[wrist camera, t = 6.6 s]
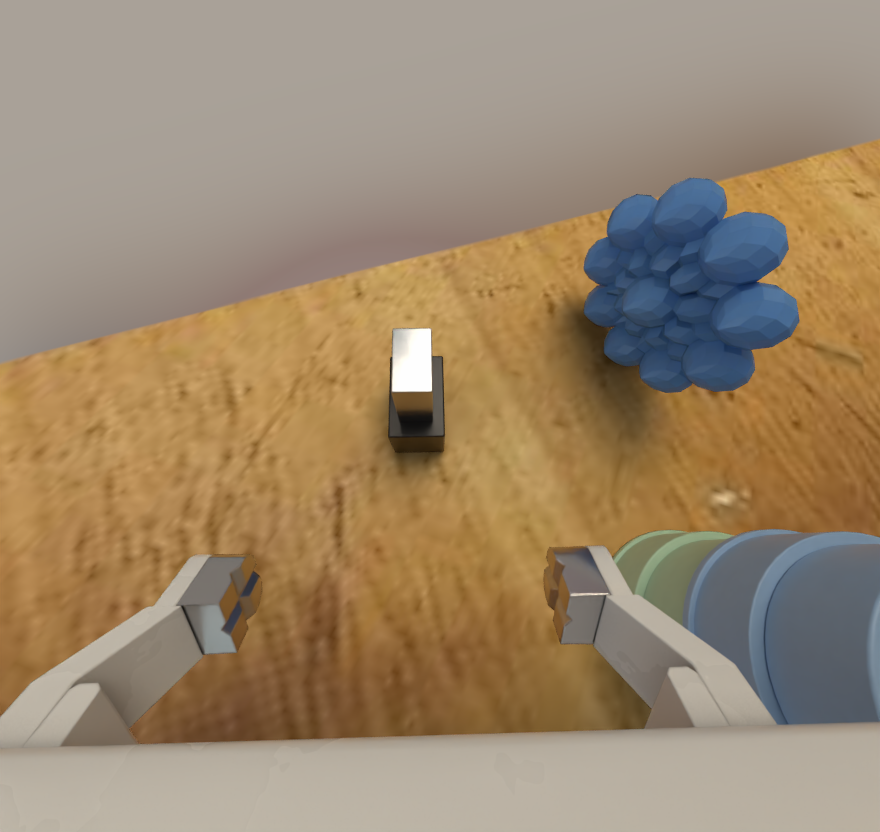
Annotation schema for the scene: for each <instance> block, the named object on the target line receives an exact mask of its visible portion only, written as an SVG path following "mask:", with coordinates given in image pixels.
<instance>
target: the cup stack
mask: <svg viewBox="0 0 880 832" xmlns="http://www.w3.org/2000/svg"><path fill="white" fill-rule="evenodd" d="M613 560H614V562H615V564H616V565H617V567H618V569H619V571H620V572H621V574H622V576H623V578H624V580H625V581H626V583H627V585H628V587H629V588H630V590H631V592H632V594H633V595H640V596H641V597H643V598H644V599H645V600H647V601H648V602H650V603H651V604H652V605H654V606H655V607H657V608H658V609H659V610H661V611H662V612H663V613H665V614H666V615H668V616H669V617H670V618H672V619H673V620H675V621H676V622H677V623H679V624H680V625H682V626H683V627H684V628H686V629H687V630H688V631H690V632H691V633H693V634H694V635H695V636H697V637H698V638H700V639H701V640H702V641H704V642H705V643H706V644H708V645H709V646H711V647H712V648H713V649H715V650H716V651H718V652H719V653H720V654H722V655H723V656H725V657H726V658H727V659H729V660H730V661H731V662H733V663H734V664H735V665H736V666H737V668H738V669H739V671H740V672H741V673H742V675H743V676H744V678H745V679H746V680H747V682H748V683H749V685H750V686H751V688H752V689H753V690H754V692H755V693H756V695H757V696H758V698H759V699H760V700H761V702H762V703H763V705H764V706H765V708H766V709H767V710H768V712H769V713H770V715H771V716H772V717H773V719H774V720H775V722H776V723H777V725H786V724H818V723H851V722H880V537H876V536H872V535H867V534H862V533H856V532H843V531H841V532H819V533H800V532H795V531H790V530H779V529H768V530H754V531H749V532H744V533H741V534H738V535H735V536H733V535H730V534H726V533H721V532H712V531H701V532H684V531H678V530H661V531H654V532H649V533H646V534H643V535H640V536H638V537H636V538H634V539H632V540H630V541H629V542H628V543H626V544H625V545H624V546H623V547H621V549H620V550H619V551H618V552H617V553H616V554H615V555H614V557H613Z"/></svg>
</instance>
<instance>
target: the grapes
mask: <svg viewBox="0 0 880 832" xmlns="http://www.w3.org/2000/svg"><path fill="white" fill-rule="evenodd" d="M726 211H727V199H726V196H725V192H724V189H723V188H722V187H720V186H719V185H718V184H716V183H715V182H714V181H712V180H709V179H700V178H688V179H686V180H684V181H681V182H679V183H677V184H674V185H672V186H671V187H670V188H669V189H668V190H667V191H666V192H665V193H664V194H663V195H662V196H661V197H660V198H659V200H656V199H655V198H653V197H652V196H650V195H639V194H636V195H634V196H631V197H629V198H627V199H624V200H623V201H622V202H621V203H620V204H619V205H618V206H617V207H616V208H615V209H614V210H613V212H612V214H611V216H610V218H609V221H608V224H607V235H608V237H606V238H603V239H601V240H598V241H597V242H596V243H595V244H594V245H593V246H592V247H591V248H590V249H589V251H588V253H587V255H586V258H585V261H584V271H585V273H586V274H587V276H588V277H589V278H590V279H591V280H593V281H594V282H595V283H597V284H600V285H599V286H596V287H595V288H594V289H593V290H592V291H591V292H590V293H589V295H588V297H587V299H586V301H585V306H584V314H585V316H586V317H587V318H588V319H589V320H590V321H591V322H593V323H594V324H596V325H598V326H602V327H606V328H609V327H614V326H615V327H614V328H612V329H611V330H610V331H609V332H608V334H607V336H606V338H605V340H604V354H605V355H606V356H607V357H608V358H609V359H611V360H612V361H614V362H615V363H617V364H620V365H623V366H627V367H628V366H636V365H639V374H640V378H641V379H642V380H643V382H644V383H646V384H647V385H649V386H650V387H651V388H653V389H655V390H659V391H662V392H665V393H671V392H681V391H682V390H684V389H686V388H687V387H689V386H691V385H692V383H693V384H695V385H696V386H697V387H701V388H704V389H707V390H711V391H715V392H717V391H733V390H735V389H737V388H739V387H740V386H742V385H744V384H746V383H748V381H749V379H750V378H751V376H752V374H753V373H754V371H755V363H754V356H753V353H752V351H751V350H753V349H761V348H769V347H773V346H775V345H776V344H778V343H780V342H782V341H783V340H785V339H787V338H788V337H790V336H791V335H792V333H793V331H794V330H795V328H796V326H797V324H798V323H799V315H798V308H797V302H796V299H795V298H793V297H792V296H791V295H789V294H788V293H786V292H785V291H784V290H782V289H781V288H779V287H778V286H776V285H771V284H765V283H759V282H757V281H758V280H760V279H761V278H762V277H764V276H765V275H767V274H768V273H769V272H771V271H772V270H774V269H775V268H777V267H778V266H779V265H780V264H781V262H782V260H783V258H784V257H785V255H786V253H787V251H788V249H789V248H788V241H787V234H786V228H785V226H784V225H783V224H782V223H780V222H779V221H778V220H776V219H775V218H774V217H772V216H770V215H767V214H762V213H751V212H742V213H739V214H737V215H734V216H731V217H728V218H725V219H723V217H724V215H725V213H726ZM722 219H723V220H722Z"/></svg>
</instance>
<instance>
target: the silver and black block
mask: <svg viewBox="0 0 880 832" xmlns="http://www.w3.org/2000/svg"><path fill="white" fill-rule="evenodd" d="M388 437H389V439H390V442H391V444H392V446H393V449H394V451H395V452H396V453H400V452H443V451H444V439H445V424H444V383H443V357H442V356H432V329H431V328H405V329H393V331H392V357H391V358H390V390H389V428H388Z"/></svg>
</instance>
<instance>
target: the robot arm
mask: <svg viewBox="0 0 880 832" xmlns="http://www.w3.org/2000/svg"><path fill="white" fill-rule="evenodd" d="M546 558H547V561H548V564H549V566H548V567H547V568H546V569H545V570H544V578H543V580H544V591H545V596H546V600H547V603H548V606H549V607H551V608H552V609H553V610H554V617H553V622H554V625H555V628H556V632H557V635H558V638H559V641H560V644H594V645H593V646H594V647H595V649H596V650H597V651H598V652H599V653H600V654H601V655H602V656H603V657H604V658H605V659H606V660H607V661H608V663H609V664H610V665H611V666H612V667H613V668H614V669H615V670H616V671H617V672H618V673H619V674H620V675H621V677H622V678H623V679H624V680H625V681H626V682H627V683H628V684H629V685H630V686H631V687H632V688H633V689H634V691H635V692H636V693H637V694H638V695H639V696H640V697H641V698H642V699H643V700H644V701H645V702H646V703H647V705H648V706H649V707H650V708H651V709H652V710H651V713H650V715H649V718H648V720H647V723H646V725H645V727H644V729H622V730H589V731H556V732H523V733H490V734H457V735H423V736H391V737H359V738H328V739H296V740H263V741H230V742H197V743H164V744H139V743H138V741H137V740H136V738H135V737H134V735H133V734H132V732H131V731H130V729H129V728H130V727H131V726H132V725H133V724H134V723H135V722H136V721H137V720H138V719H139V718H141V717H142V716H143V715H144V714H145V713H146V712H147V711H148V710H149V709H150V708H151V707H152V706H153V705H154V704H155V703H156V702H157V701H158V700H159V699H160V698H161V697H162V696H163V695H164V694H165V693H166V692H167V691H168V690H169V689H170V688H171V687H172V686H173V685H175V684H176V683H177V682H178V681H179V680H180V679H181V678H182V677H183V676H184V675H185V674H186V673H187V672H188V671H189V670H190V669H191V668H192V667H193V666H194V665H195V664H196V663H197V662H198V661H199V660H200V659H201V658H202V657H203V655H206V654H224V653H237V652H238V650H239V647H240V645H241V643H242V641H243V639H244V637H245V635H246V632H247V630H248V625H247V622H246V620H247V619H249V618H250V617H251V616H252V615H253V614H255V613H256V611H257V608H258V606H259V604H260V600H261V595H262V581H261V578H260V576H259V575H258V574H257V573H255V572H254V571H253V570H254V568H255V567H256V565H257V564H256V561H255V558H254V555H250V554H213V555H194V556H192V557H191V558H189V559H188V561H187V562H186V563H185V565H184V566H183V567H182V569H181V570H180V571H179V573H178V574H177V575H176V577H175V578H174V579H173V581H172V582H171V584H170V585H169V586H168V588H167V589H166V590H165V592H164V593H163V594H162V596H161V597H160V598H159V600H158V601H157V602H156V604H155V605H154V606H151V607H146V608H145V609H143V610H142V611H140V612H138V613H137V614H135V615H134V616H132V617H131V618H129V619H128V620H126V621H125V622H123V623H122V624H120V625H119V626H117V627H115V628H114V629H112V630H111V631H109V632H108V633H106V634H105V635H103V636H102V637H100V638H99V639H97V640H96V641H94V642H92V643H91V644H89V645H88V646H86V647H85V648H83V649H82V650H80V651H79V652H77V653H76V654H74V655H72V656H71V657H69V658H68V659H66V660H65V661H63V662H62V663H60V664H59V665H57V666H56V667H54V668H53V669H51V670H49V671H48V672H46V673H45V674H43V675H42V676H40V677H39V678H37V679H36V680H34V681H33V682H31V683H30V684H29V685H28V686H27V688H26V689H25V690H24V691H23V692H22V693H21V694H20V695H19V697H18V698H17V699H16V700H15V701H14V702H13V703H12V704H11V705H10V707H9V708H8V709H7V710H6V711H5V712H4V713H3V714H2V716H1V717H0V832H880V722H851V723H818V724H786V725H777V723H776V722H775V720H774V719H773V717H772V716H771V715H770V713H769V712H768V710H767V709H766V708H765V706H764V705H763V703H762V702H761V700H760V699H759V698H758V696H757V695H756V693H755V692H754V690H753V689H752V688H751V686H750V685H749V683H748V682H747V680H746V679H745V678H744V676H743V675H742V673H741V672H740V671H739V669H738V668H737V666H736V665H735V664H734V663H733V662H731V661H730V660H729V659H727V658H726V657H725V656H723V655H722V654H720V653H719V652H718V651H716V650H715V649H713V648H712V647H711V646H709V645H708V644H706V643H705V642H704V641H702V640H701V639H700V638H698V637H697V636H695V635H694V634H693V633H691V632H690V631H688V630H687V629H686V628H684V627H683V626H682V625H680V624H679V623H677V622H676V621H675V620H673V619H672V618H670V617H669V616H668V615H666V614H665V613H663V612H662V611H661V610H659V609H658V608H657V607H655V606H654V605H652V604H651V603H650V602H648V601H647V600H645V599H644V598H643V597H641V596H640V595H633V594H632V592H631V590H630V588H629V587H628V585H627V583H626V581H625V580H624V578H623V576H622V574H621V572H620V571H619V569H618V567H617V565H616V564H615V562H614V560H613V558H612V557H611V555H610V553H609V551H608V550H607V548H606V547H605V546H585V547H584V546H573V547H549V549H548V551H547V556H546Z"/></svg>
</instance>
